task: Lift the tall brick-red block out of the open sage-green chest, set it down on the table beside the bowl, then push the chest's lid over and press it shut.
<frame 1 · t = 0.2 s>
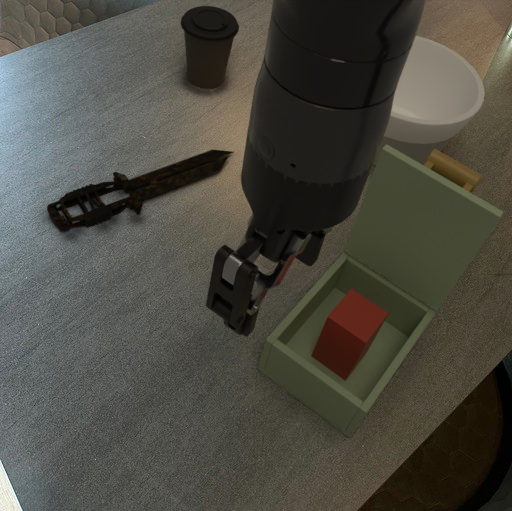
hand: (272, 290, 48), 19 cm above the table, tool pointing down, fingers open, 8 cm apart
bowl: (388, 137, 91), on the table
knife: (148, 187, 79), on the table
chest: (339, 354, 68), on the table
block: (339, 354, 67), point 1 cm above the table, touching chest
lid: (424, 220, 61), point 15 cm above the table, hinge at 88.0°
coffee cup: (205, 78, 93), on the table
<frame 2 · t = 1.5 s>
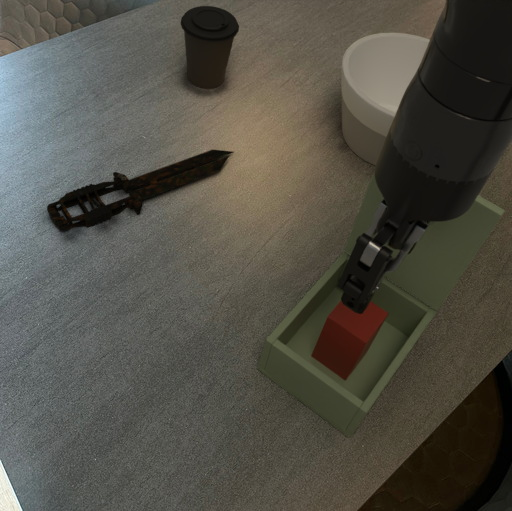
hand: (377, 275, 55), 15 cm above the table, tool pointing down, fingers open, 8 cm apart
lid: (424, 219, 61), point 14 cm above the table, hinge at 88.9°
everything else where it was.
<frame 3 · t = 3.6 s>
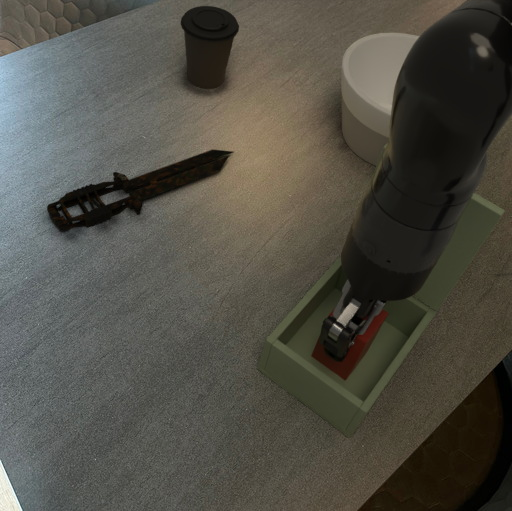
hand: (347, 337, 64), 4 cm above the table, tool pointing down, fingers closed on block, 4 cm apart
block: (339, 354, 67), point 1 cm above the table, touching chest, gripper
everything else where it was.
when the fingers open (4 cm above the table, at t = 12.8 s): block stays where it is, on the table.
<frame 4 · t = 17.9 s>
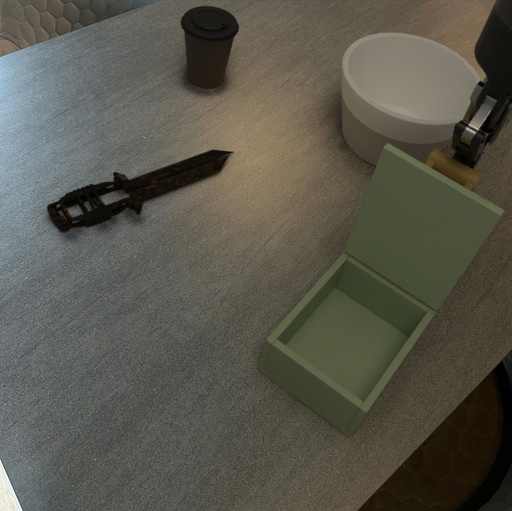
hand: (457, 173, 62), 17 cm above the table, tool pointing down, fingers closed
block: (433, 239, 80), on the table
lid: (424, 219, 61), point 14 cm above the table, hinge at 88.8°, touching gripper
everything else where it was.
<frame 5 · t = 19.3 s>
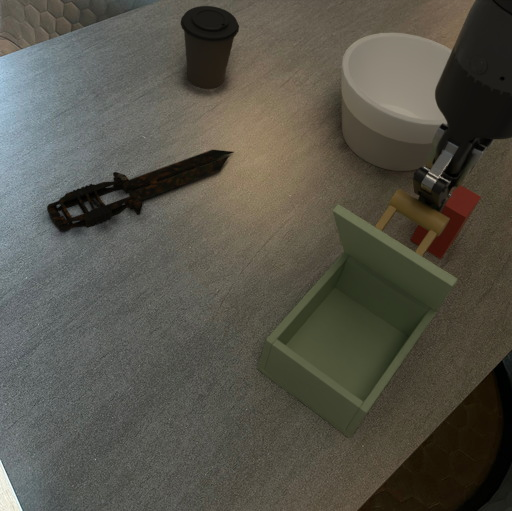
hand: (424, 215, 58), 17 cm above the table, tool pointing down, fingers closed
lid: (405, 243, 59), point 14 cm above the table, hinge at 59.3°, touching gripper
everything else where it was.
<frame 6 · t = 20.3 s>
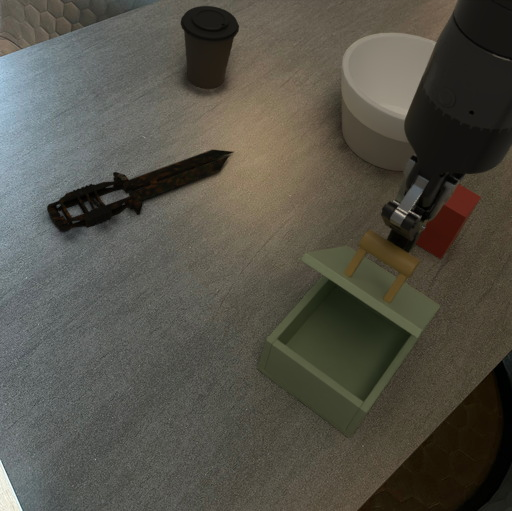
hand: (398, 246, 56), 17 cm above the table, tool pointing down, fingers closed
lid: (389, 265, 59), point 13 cm above the table, hinge at 40.6°, touching gripper
everything else where it was.
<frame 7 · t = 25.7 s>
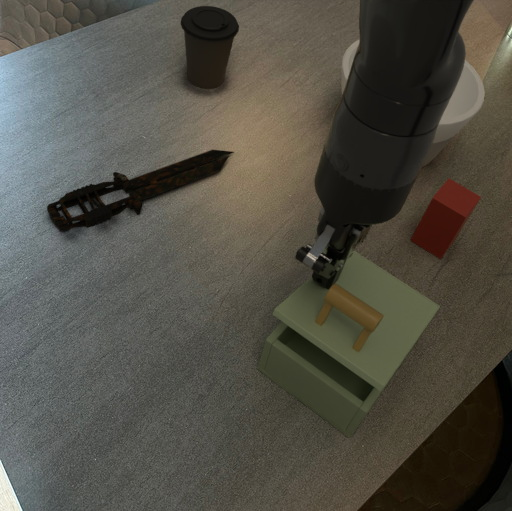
hand: (324, 279, 61), 10 cm above the table, tool pointing down, fingers closed
lid: (371, 293, 59), point 11 cm above the table, hinge at 17.7°
everything else where it was.
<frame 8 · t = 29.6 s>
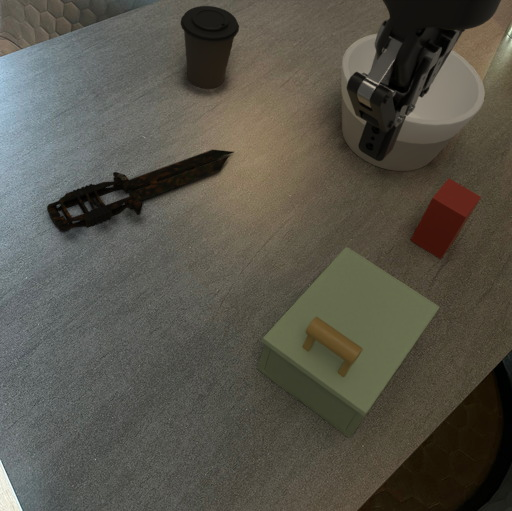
hand: (374, 150, 48), 27 cm above the table, tool pointing down, fingers closed
lid: (360, 311, 60), point 9 cm above the table, hinge at 1.9°
everything else where it was.
at the end: block inside the target area on the table beside the bowl (0.1 cm from its centre), on the table; block tilted 0°; lid at +2° (first picture: +88°) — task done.
